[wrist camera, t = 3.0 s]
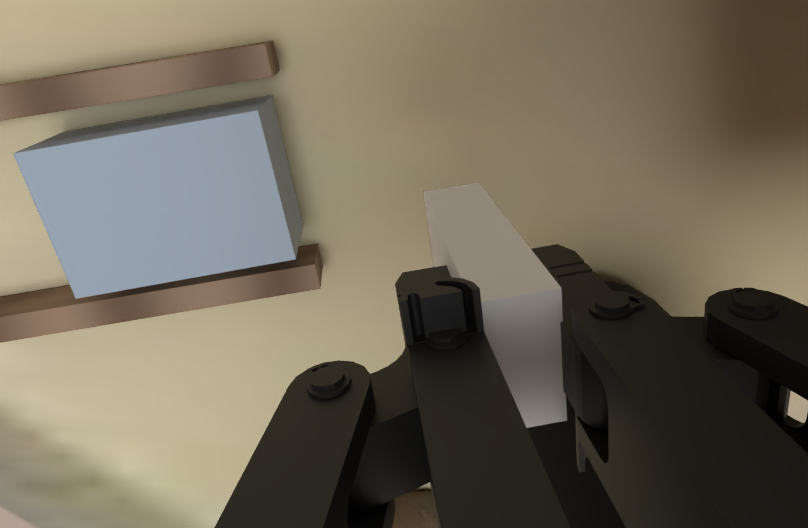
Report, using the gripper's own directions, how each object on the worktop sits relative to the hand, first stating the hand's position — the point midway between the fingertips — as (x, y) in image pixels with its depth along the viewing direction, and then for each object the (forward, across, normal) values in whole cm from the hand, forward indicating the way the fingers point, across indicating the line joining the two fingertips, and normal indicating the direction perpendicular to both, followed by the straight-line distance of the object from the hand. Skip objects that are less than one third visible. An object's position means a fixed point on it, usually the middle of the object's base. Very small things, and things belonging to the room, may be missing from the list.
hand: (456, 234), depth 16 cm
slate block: (+12, -10, 0) cm, 16 cm away
